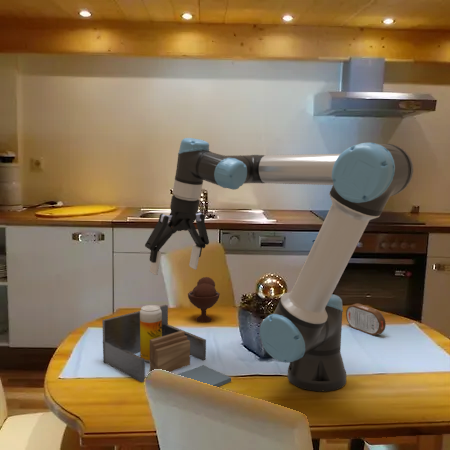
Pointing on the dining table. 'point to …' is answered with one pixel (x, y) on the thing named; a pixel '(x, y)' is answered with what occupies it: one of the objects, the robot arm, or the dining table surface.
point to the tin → (365, 319)
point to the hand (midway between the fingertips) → (173, 270)
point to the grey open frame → (138, 343)
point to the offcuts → (170, 352)
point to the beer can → (149, 328)
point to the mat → (207, 376)
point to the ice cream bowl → (204, 297)
